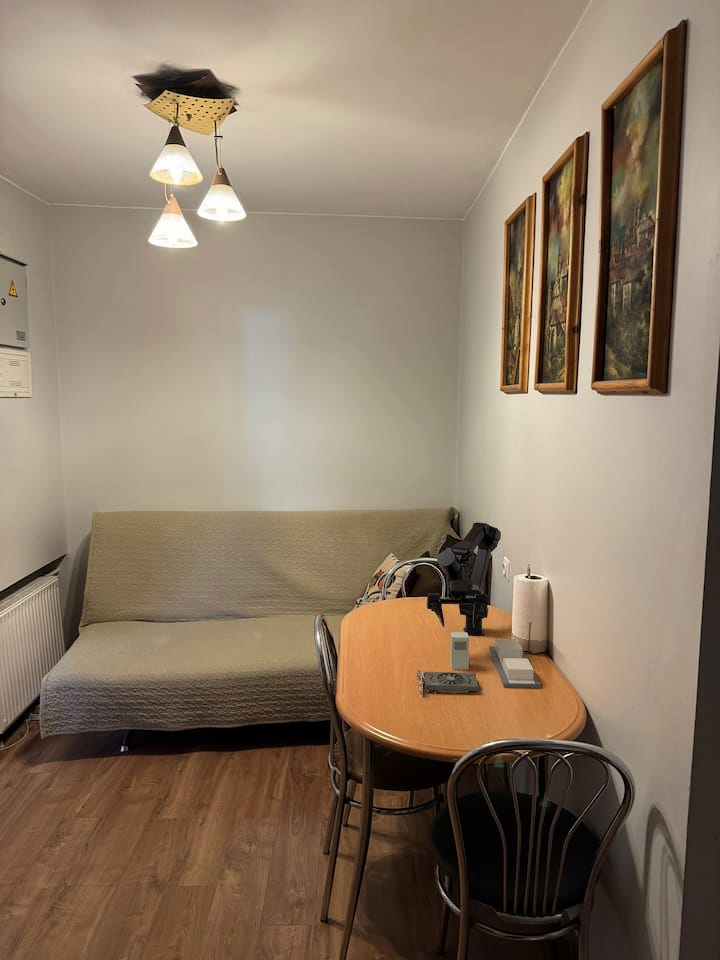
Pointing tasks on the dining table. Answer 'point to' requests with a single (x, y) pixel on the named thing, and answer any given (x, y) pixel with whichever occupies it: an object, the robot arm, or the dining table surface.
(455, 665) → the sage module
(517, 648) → the board
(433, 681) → the graphics card
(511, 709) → the dining table surface
